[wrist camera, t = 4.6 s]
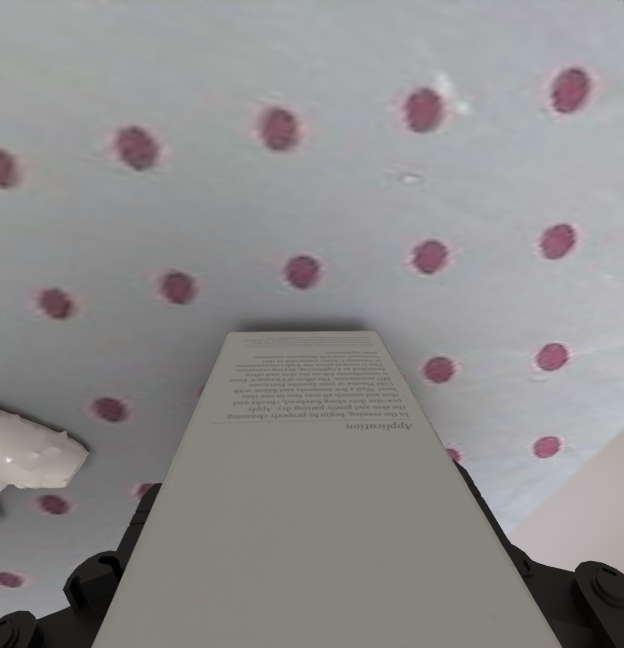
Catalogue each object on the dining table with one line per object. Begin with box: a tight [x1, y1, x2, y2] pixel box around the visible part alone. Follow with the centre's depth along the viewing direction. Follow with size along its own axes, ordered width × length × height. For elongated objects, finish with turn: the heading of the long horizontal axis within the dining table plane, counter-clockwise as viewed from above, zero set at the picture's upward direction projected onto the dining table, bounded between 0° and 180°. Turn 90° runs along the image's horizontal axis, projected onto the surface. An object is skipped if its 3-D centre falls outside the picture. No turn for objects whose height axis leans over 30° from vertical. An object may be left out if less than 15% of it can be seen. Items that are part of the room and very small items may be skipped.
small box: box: [91, 331, 562, 648], centre depth 10 cm, size 8×6×13 cm
